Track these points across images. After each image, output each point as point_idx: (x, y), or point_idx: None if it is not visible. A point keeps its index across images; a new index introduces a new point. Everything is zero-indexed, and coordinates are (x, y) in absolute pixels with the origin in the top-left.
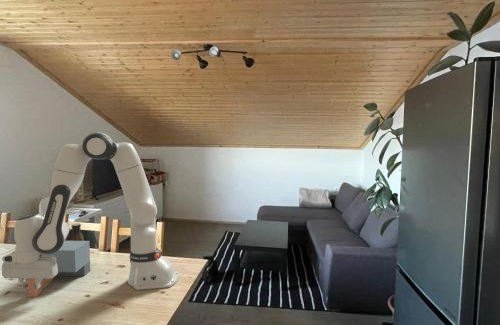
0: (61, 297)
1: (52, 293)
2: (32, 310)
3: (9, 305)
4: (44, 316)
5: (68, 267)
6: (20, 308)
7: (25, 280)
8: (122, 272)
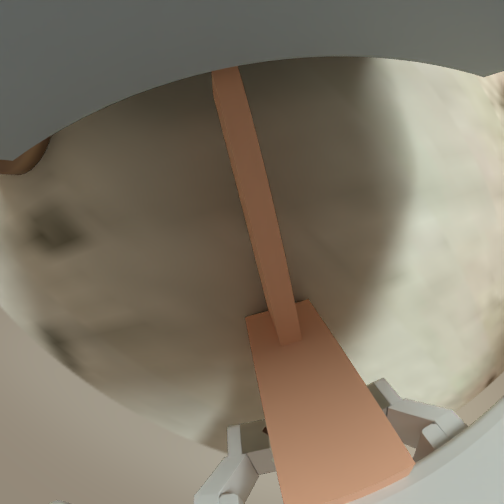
0: (457, 288)
1: (389, 271)
2: None
3: None
4: (450, 404)
5: (482, 49)
6: None
7: (233, 470)
8: None
